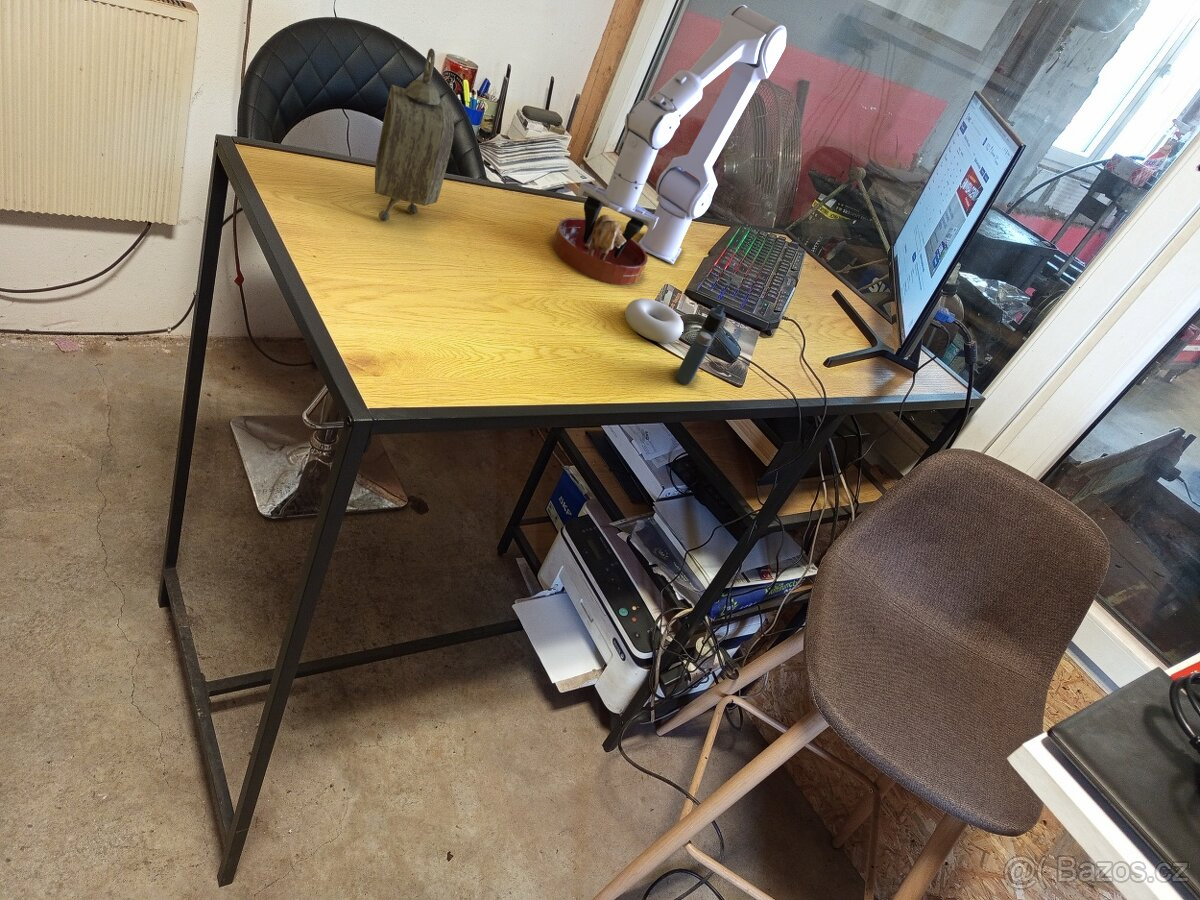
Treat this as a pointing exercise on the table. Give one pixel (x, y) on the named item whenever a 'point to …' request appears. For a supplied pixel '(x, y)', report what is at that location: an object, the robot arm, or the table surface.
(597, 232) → the lion figurine
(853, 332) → the table surface
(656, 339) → the donut
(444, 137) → the wooden cowbell
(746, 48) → the robot arm
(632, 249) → the bowl
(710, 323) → the vaping device
